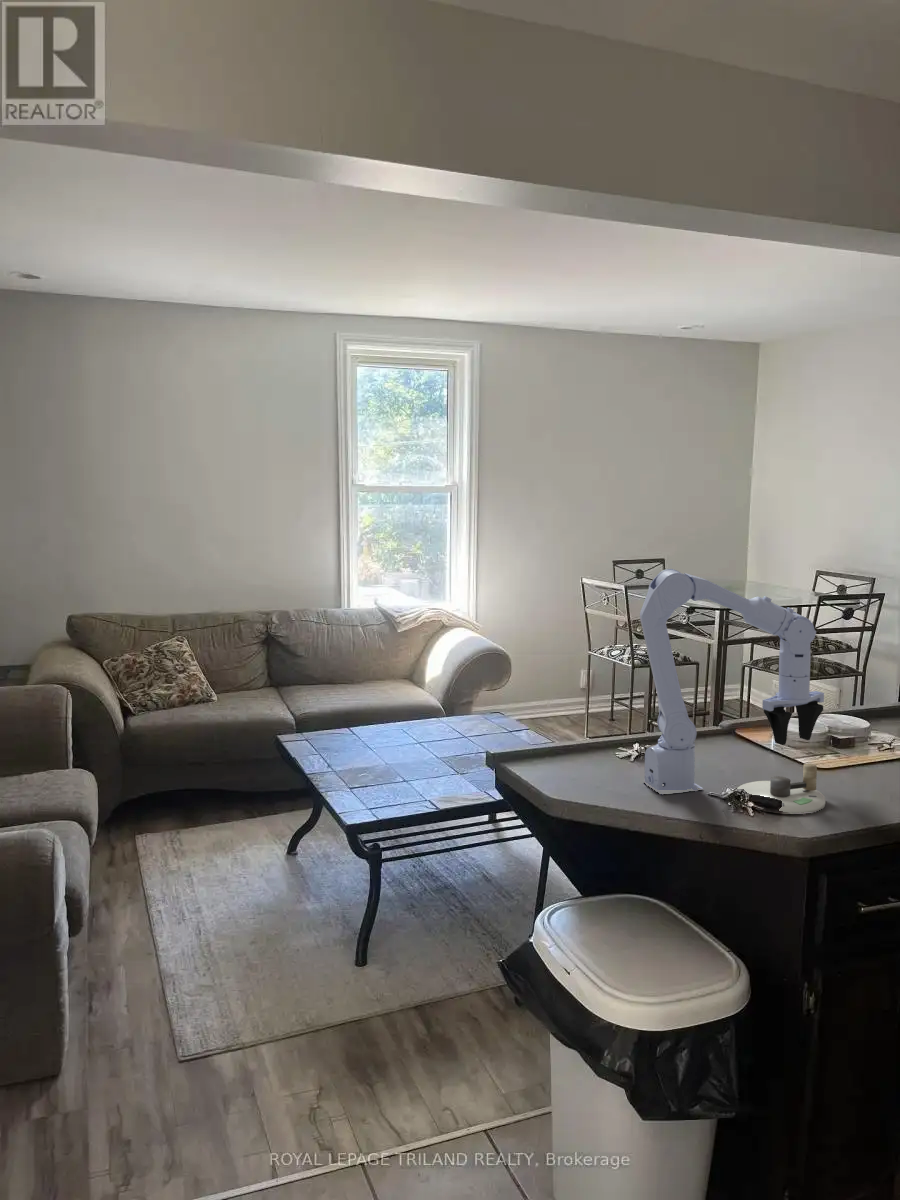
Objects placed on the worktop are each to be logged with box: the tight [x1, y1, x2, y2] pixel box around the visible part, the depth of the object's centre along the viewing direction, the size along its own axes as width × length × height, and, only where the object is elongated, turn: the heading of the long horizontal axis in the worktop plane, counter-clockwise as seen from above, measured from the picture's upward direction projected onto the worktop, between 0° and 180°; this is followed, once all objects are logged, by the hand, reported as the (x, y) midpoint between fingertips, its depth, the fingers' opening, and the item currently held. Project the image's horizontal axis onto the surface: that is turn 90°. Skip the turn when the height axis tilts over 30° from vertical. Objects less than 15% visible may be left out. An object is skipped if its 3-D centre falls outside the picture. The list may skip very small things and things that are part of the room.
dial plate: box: [736, 780, 826, 813], centre depth 166 cm, size 16×16×1 cm
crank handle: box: [769, 763, 818, 797], centre depth 166 cm, size 10×4×5 cm, turn 104°
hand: (792, 741), depth 171 cm, fingers open, 6 cm apart
